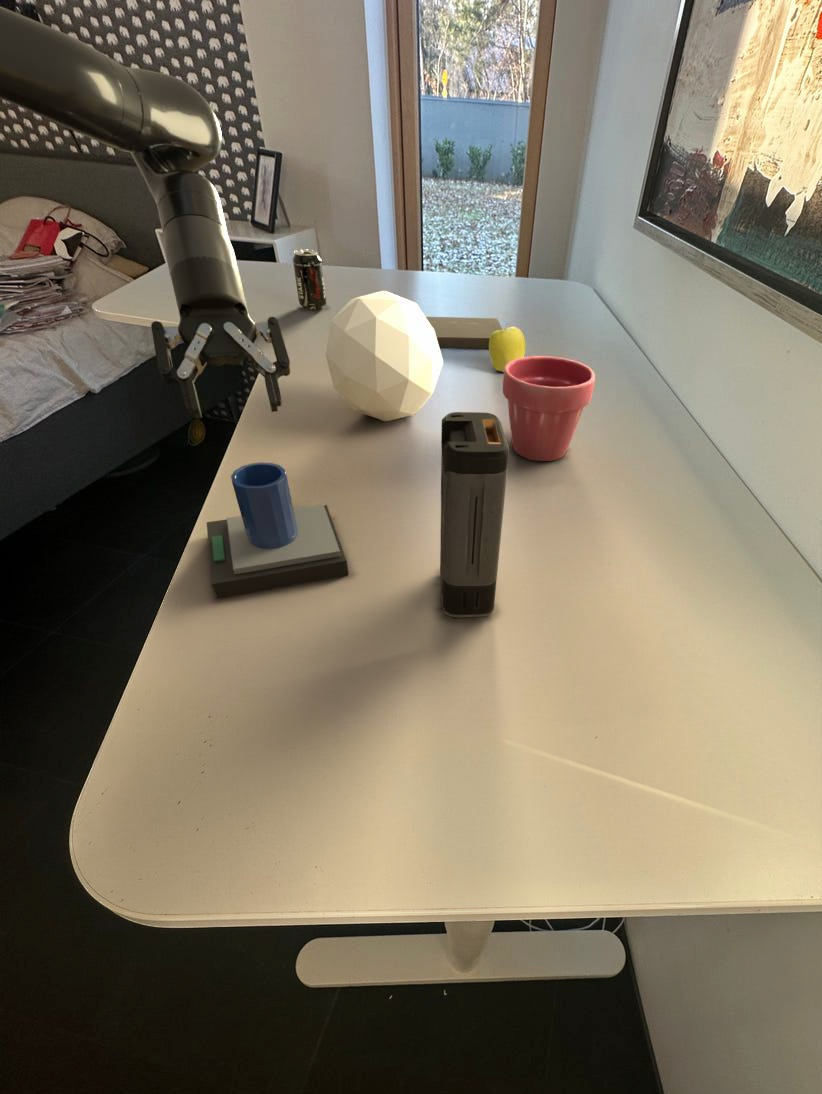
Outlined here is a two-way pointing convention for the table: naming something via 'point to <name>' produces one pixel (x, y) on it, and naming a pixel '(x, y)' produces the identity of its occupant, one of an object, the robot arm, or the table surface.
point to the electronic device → (471, 511)
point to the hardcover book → (464, 331)
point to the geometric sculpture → (383, 356)
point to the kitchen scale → (274, 555)
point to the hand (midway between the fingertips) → (237, 412)
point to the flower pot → (545, 403)
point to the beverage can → (309, 279)
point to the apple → (506, 347)
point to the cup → (265, 504)
